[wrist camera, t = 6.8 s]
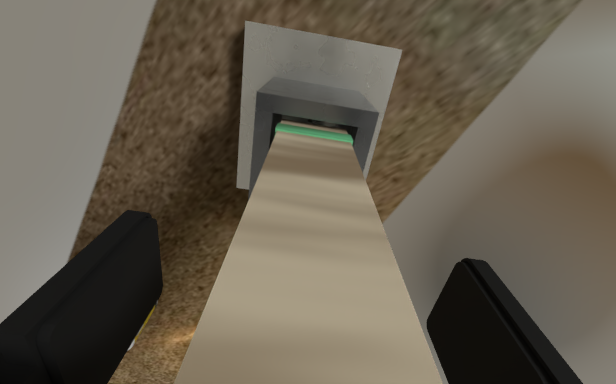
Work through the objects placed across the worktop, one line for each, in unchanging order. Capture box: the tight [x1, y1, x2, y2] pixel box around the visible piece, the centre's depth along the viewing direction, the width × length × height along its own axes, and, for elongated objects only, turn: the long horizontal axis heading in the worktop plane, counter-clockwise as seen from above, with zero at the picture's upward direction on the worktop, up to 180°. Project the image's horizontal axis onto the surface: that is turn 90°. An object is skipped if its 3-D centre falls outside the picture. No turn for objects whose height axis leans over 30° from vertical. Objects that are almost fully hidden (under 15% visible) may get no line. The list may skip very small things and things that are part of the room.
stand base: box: [236, 21, 402, 201], centre depth 22 cm, size 14×12×10 cm
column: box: [174, 119, 443, 384], centre depth 12 cm, size 4×4×16 cm
